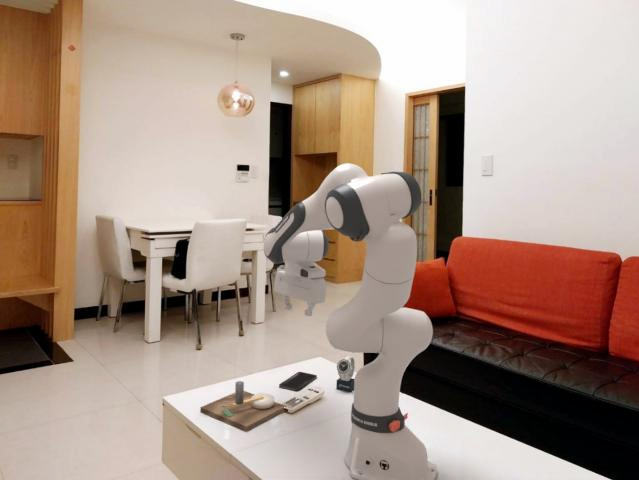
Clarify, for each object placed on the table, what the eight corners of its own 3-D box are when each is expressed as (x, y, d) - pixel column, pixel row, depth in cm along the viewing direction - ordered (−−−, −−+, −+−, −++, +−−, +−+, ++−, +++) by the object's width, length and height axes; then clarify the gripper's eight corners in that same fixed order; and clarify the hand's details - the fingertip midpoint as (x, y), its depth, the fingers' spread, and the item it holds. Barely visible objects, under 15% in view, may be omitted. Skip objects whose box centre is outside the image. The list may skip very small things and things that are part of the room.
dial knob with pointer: (266, 397, 154) (266, 371, 153) (278, 405, 148) (279, 378, 147) (227, 407, 145) (227, 380, 144) (239, 416, 140) (239, 388, 139)
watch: (333, 391, 165) (334, 359, 164) (344, 383, 172) (345, 352, 171) (348, 394, 162) (349, 362, 161) (358, 386, 169) (360, 355, 168)
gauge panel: (286, 410, 149) (286, 405, 149) (246, 431, 135) (246, 425, 135) (241, 394, 160) (241, 389, 160) (200, 412, 146) (200, 406, 146)
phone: (277, 385, 166) (299, 371, 180) (277, 388, 166) (299, 374, 180) (298, 390, 163) (318, 375, 176) (298, 393, 163) (318, 378, 176)
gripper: (270, 264, 155) (269, 307, 157) (314, 273, 141) (312, 321, 142) (285, 263, 160) (284, 304, 161) (329, 271, 145) (328, 317, 146)
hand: (298, 312), depth 151 cm, fingers open, 8 cm apart
